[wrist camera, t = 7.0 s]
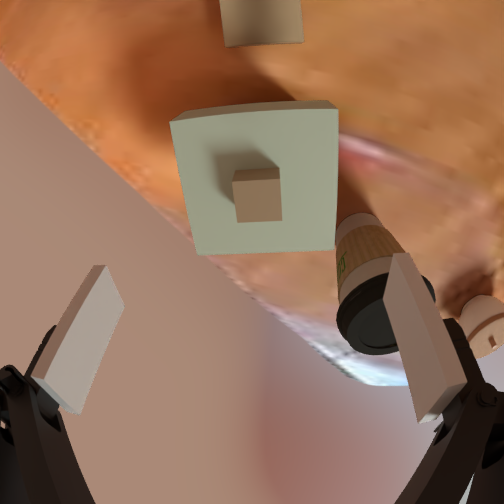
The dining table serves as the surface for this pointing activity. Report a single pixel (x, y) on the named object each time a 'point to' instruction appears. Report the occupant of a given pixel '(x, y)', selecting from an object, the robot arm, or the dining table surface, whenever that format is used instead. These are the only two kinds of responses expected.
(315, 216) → the lid
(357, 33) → the dining table surface
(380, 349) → the coffee cup
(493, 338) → the lidded jar
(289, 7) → the oak stand
